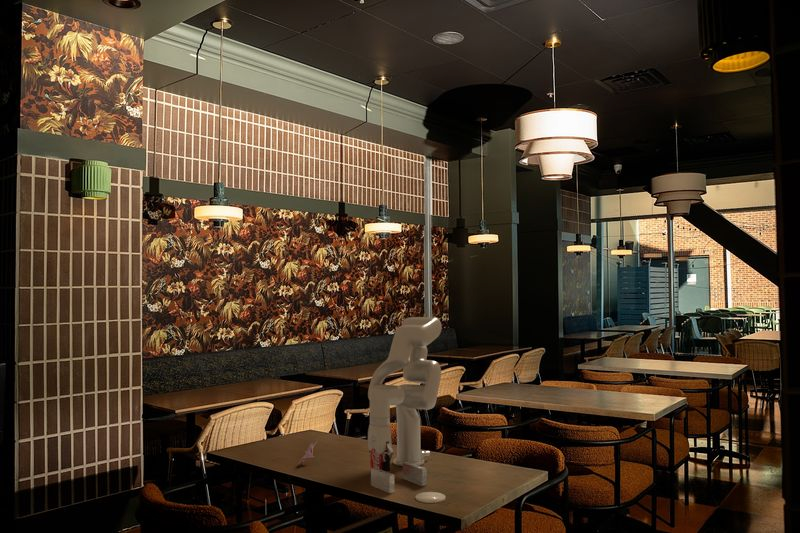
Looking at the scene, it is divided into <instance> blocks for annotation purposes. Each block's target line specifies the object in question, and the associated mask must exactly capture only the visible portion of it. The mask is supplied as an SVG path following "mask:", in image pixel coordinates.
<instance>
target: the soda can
mask: <svg viewBox="0 0 800 533" xmlns="http://www.w3.org/2000/svg"><path fill="white" fill-rule="evenodd" d="M373 447H374V446H373ZM385 452H387V450H385ZM386 455H387V454H385V457H386ZM382 461H383V458H382V454H378V453H377V452H376V450H375V449H374V448H373V449H372V450H371V457H370V469H371V468H378V469H381V470H382ZM388 473H391V470H390V471H389V472H388Z"/></svg>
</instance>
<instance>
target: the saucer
mask: <svg viewBox="0 0 800 533" xmlns="http://www.w3.org/2000/svg"><path fill="white" fill-rule="evenodd" d="M415 500H416V501H417V502H419V503H424V504H438V503H442V502H444V501H445V500H446V495H445V494H444V493H441V492H435V491H426V492H425V491H423V492H420V493H417V494H416V495H415Z"/></svg>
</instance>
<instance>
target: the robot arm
mask: <svg viewBox="0 0 800 533" xmlns="http://www.w3.org/2000/svg"><path fill="white" fill-rule="evenodd" d="M442 327H443V326H442V322H441V321H440V319H439V318H438V317H433V316H429V317H428V316H427V317H426V316H424V317H421V316H412V317H411V316H410V317H407V318H404V320H402V323H401V325H400V326H398V327H397V328H396V330H395V332H394V336H393V339H392V343H391V346H390V351H389V352H388V357H387V358H386V359H385V360H384V361H383V362H382V363H381V364H380V365H379V366H378V367H377V368H376V369H375V371H374V372H373V374H372V375H371V379H370V382H369V386H368V391H367V398H368V400H369V425H368V429H367V445H366V446H367V450H368V452H369V458H371V450H372V449H373V448H374V449H375V450H376V452H377V453H378V454H382V458H383V461H382V470H383V471H386V472H389V471H390V472H391V461H392V458H393V455H394V452H395V451H394V450H393V448H392V447H393V446H392V432H391V406H395V409H396V457H395V458H394V459H393V462H392V463H393V464H394V465H396V466H398V467H399V466H400V467H403V462H410V463H413V464H416V465H418V466H422V465H424V464H425V458H424V457H428V456H430V455H431V452H430V450H425V451H424V450H421V418H420V414H419V412H418V411H417V409H418V410H431V409H433V408H434V407H435V406H436V404H437V399H438V395H439V391H440V390H439V389H440V384H441V379H442V369H441V366H440V363H439V362H438V361H435V360H432V359H427V357H428V352H429V351H428V348H427V346H428V345H430V344H432V342H434V341H435V340H436V339H437V338H438V337H439V336H440V334H441V332H442ZM402 369H403V371H402V377H403V379H404V381H406V382H407V383H405V384H400V385H393V384H383V382H384V381H385V379H386V378H387V377H389V376H390V375H392V374H393V373H395V372H397V371H400V370H402ZM409 383H410V384H409ZM412 383H413V384H412ZM414 383H415V384H414ZM422 384H423V385H422ZM373 446H374V447H373ZM385 450H387V452H385ZM385 454H387V455H386V457H385Z"/></svg>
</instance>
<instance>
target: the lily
mask: <svg viewBox="0 0 800 533" xmlns="http://www.w3.org/2000/svg"><path fill="white" fill-rule="evenodd" d="M316 444H317V442H315V443H314V442H313V441H312V442H311V443H310V445H309V446H308V448H307V450H305V451H304V453H305V454H304V456H303V457H302V458H301V459H300V460H298V461H299V462H298V463H297V465H296V466H299V464H300V463H301V462H302V463H304V462H305V461H306V459H310V458H313V459H314V460H315V462H316V464H317V465H318V466H319V465H320V463H319V462H318V461H317V459H316V458H315V457H314V452H313V451H314V447H315V445H316Z"/></svg>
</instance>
